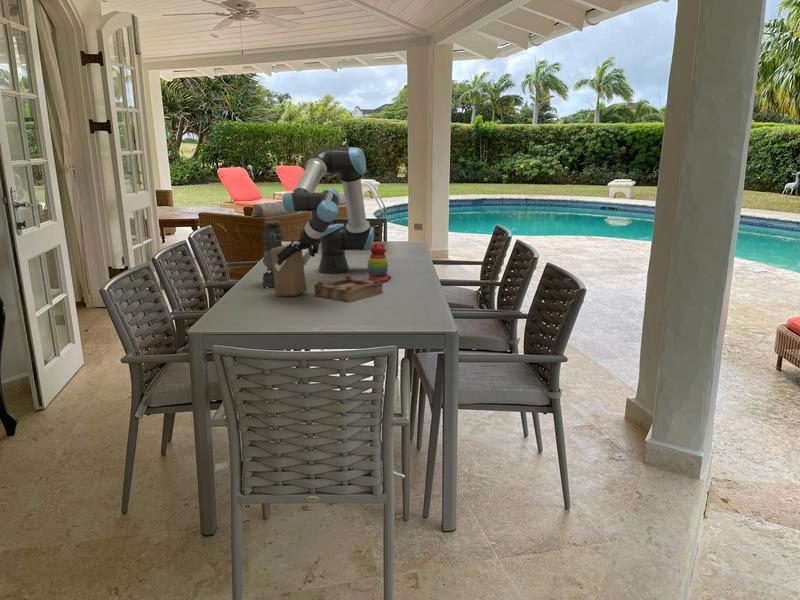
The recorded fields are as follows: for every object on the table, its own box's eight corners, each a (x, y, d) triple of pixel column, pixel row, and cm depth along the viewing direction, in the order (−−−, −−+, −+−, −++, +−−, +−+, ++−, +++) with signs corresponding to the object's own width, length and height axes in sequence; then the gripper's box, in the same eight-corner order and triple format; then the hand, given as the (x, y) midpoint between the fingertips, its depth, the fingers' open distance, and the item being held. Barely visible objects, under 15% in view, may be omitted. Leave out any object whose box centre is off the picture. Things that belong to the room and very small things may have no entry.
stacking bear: (386, 282, 275) (386, 244, 270) (365, 282, 277) (364, 243, 272) (391, 278, 285) (391, 240, 281) (371, 277, 287) (370, 240, 283)
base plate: (315, 295, 252) (314, 282, 251) (348, 286, 267) (348, 274, 266) (349, 302, 240) (348, 288, 239) (382, 292, 255) (382, 280, 253)
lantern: (262, 281, 280) (257, 217, 273) (293, 280, 283) (289, 216, 275) (261, 291, 261) (256, 221, 254) (294, 289, 264) (290, 220, 257)
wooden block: (307, 291, 257) (302, 244, 253) (296, 296, 248) (290, 248, 244) (286, 291, 260) (281, 245, 256) (275, 296, 251) (269, 248, 247)
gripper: (293, 243, 227) (270, 278, 240) (340, 236, 246) (316, 268, 259) (283, 228, 229) (261, 263, 242) (330, 222, 248) (307, 255, 261)
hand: (289, 266), depth 251 cm, fingers open, 13 cm apart
